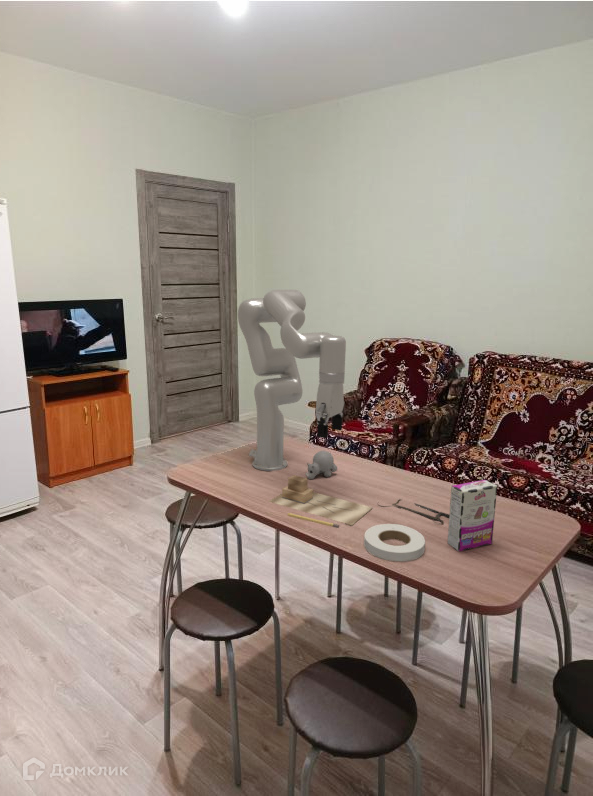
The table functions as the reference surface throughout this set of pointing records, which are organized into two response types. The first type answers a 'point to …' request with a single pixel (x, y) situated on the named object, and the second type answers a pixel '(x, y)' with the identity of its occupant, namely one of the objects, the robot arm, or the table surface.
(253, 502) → the table surface
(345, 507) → the birch board
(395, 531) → the roll of tape
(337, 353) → the robot arm
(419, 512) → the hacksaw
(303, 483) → the cork sanding block
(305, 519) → the pencil
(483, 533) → the candy bar box
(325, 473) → the toy rhinoceros
